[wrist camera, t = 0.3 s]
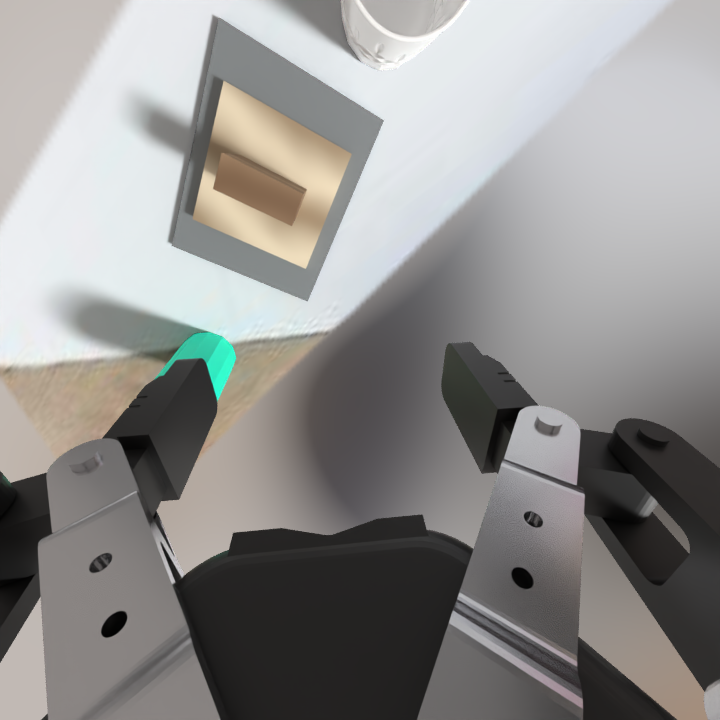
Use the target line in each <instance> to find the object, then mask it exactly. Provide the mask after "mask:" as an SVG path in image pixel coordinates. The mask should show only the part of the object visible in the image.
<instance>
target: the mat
mask: <svg viewBox="0 0 720 720" xmlns="http://www.w3.org/2000/svg"><path fill="white" fill-rule="evenodd" d="M223 81H225V82H227V83H229V84H231V85H232V86H234V87H236V88H238V89H239V90H241V91H243V92H245V93H246V94H248V95H250V96H252V97H253V98H255V99H257V100H259V101H260V102H262V103H264V104H266V105H267V106H269V107H271V108H273V109H274V110H276V111H278V112H280V113H281V114H283V115H285V116H287V117H288V118H290V119H292V120H294V121H295V122H297V123H299V124H301V125H302V126H304V127H306V128H307V129H309V130H311V131H313V132H314V133H316V134H318V135H320V136H321V137H323V138H325V139H327V140H328V141H330V142H332V143H334V144H335V145H337V146H339V147H341V148H342V149H344V150H346V151H348V152H349V153H351V154H352V155H351V157H350V160H349V162H348V165H347V167H346V170H345V172H344V175H343V177H342V180H341V182H340V185H339V187H338V190H337V192H336V195H335V197H334V200H333V202H332V205H331V207H330V210H329V212H328V215H327V217H326V220H325V222H324V225H323V227H322V230H321V232H320V235H319V237H318V240H317V242H316V245H315V247H314V250H313V252H312V255H311V257H310V260H309V262H308V265H307V267H306V269H305V268H303V267H300V266H298V265H296V264H293V263H291V262H289V261H287V260H284V259H282V258H280V257H278V256H275V255H273V254H271V253H268V252H266V251H264V250H262V249H259V248H257V247H255V246H252V245H250V244H248V243H246V242H243V241H241V240H239V239H237V238H234V237H232V236H230V235H227V234H225V233H223V232H221V231H218V230H216V229H214V228H212V227H209V226H207V225H205V224H202V223H200V222H198V221H196V220H193V214H194V210H195V205H196V201H197V197H198V192H199V188H200V183H201V179H202V174H203V170H204V166H205V161H206V157H207V152H208V148H209V143H210V139H211V135H212V130H213V126H214V121H215V117H216V112H217V108H218V104H219V99H220V95H221V90H222V86H223ZM383 121H384V120H382V119H380V118H379V117H377V116H376V115H374V114H372V113H371V112H369V111H368V110H366V109H364V108H363V107H361V106H360V105H358V104H357V103H355V102H353V101H352V100H350V99H349V98H347V97H345V96H344V95H342V94H341V93H339V92H337V91H336V90H334V89H333V88H331V87H329V86H328V85H326V84H325V83H323V82H321V81H320V80H318V79H317V78H315V77H313V76H312V75H310V74H309V73H307V72H305V71H304V70H302V69H301V68H299V67H297V66H296V65H294V64H293V63H291V62H289V61H288V60H286V59H285V58H283V57H281V56H280V55H278V54H277V53H275V52H273V51H272V50H270V49H269V48H267V47H265V46H264V45H262V44H261V43H259V42H257V41H256V40H254V39H253V38H251V37H249V36H248V35H246V34H245V33H243V32H241V31H240V30H238V29H237V28H235V27H233V26H232V25H230V24H229V23H227V22H225V21H224V20H222V19H221V18H219V20H218V25H217V29H216V34H215V39H214V44H213V49H212V54H211V59H210V63H209V68H208V73H207V78H206V83H205V88H204V93H203V97H202V102H201V107H200V112H199V117H198V122H197V127H196V131H195V136H194V141H193V146H192V151H191V156H190V160H189V165H188V170H187V175H186V180H185V185H184V190H183V194H182V199H181V204H180V209H179V214H178V219H177V224H176V228H175V233H174V238H173V243H172V246H174V247H176V248H179V249H181V250H184V251H186V252H188V253H191V254H193V255H196V256H198V257H201V258H203V259H205V260H208V261H210V262H213V263H215V264H218V265H220V266H223V267H225V268H227V269H230V270H232V271H235V272H237V273H240V274H242V275H245V276H247V277H249V278H252V279H254V280H257V281H259V282H262V283H264V284H267V285H269V286H271V287H274V288H276V289H279V290H281V291H284V292H286V293H288V294H291V295H293V296H296V297H298V298H301V299H303V300H306V301H308V299H309V297H310V294H311V292H312V290H313V287H314V285H315V282H316V280H317V278H318V275H319V273H320V271H321V268H322V266H323V263H324V261H325V259H326V256H327V254H328V252H329V249H330V247H331V244H332V242H333V240H334V237H335V235H336V233H337V230H338V228H339V225H340V223H341V221H342V218H343V216H344V214H345V211H346V209H347V207H348V204H349V202H350V199H351V197H352V195H353V192H354V190H355V188H356V185H357V183H358V180H359V178H360V176H361V173H362V171H363V169H364V166H365V164H366V161H367V159H368V157H369V154H370V152H371V150H372V147H373V145H374V142H375V140H376V138H377V135H378V133H379V131H380V128H381V126H382V123H383Z"/></svg>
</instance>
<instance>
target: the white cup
mask: <svg viewBox="0 0 720 720" xmlns="http://www.w3.org/2000/svg"><path fill="white" fill-rule="evenodd" d="M340 1H341V9H342V22H343V26H344V29H345V33H346V37H347V41H348V44H349V46H350V47H351V48H352V50H353V51H354V53H355V54H356V55H357V57H358V58H359V60H360V61H361V62H362V63H364V64H366V65H368V66H370V67H372V68H374V69H376V70H378V71H382V70H392V69H397V68H398V67H400V66H401V65H403V64H404V63H405V62H407V61H408V60H410V59H412V58H414V57H415V56H416V55H417V54H419V53H420V52H421V51H422V50H423V49H425V48H426V47H427V46H428V45H429V44H431V43H432V42H433V41H434V40H435V39H436V38H437V37H438V36H439V35H440V34H441V33H442V32H443V31H444V30H445V29H446V28H448V27H449V26H450V25H451V24H452V23H453V22H454V21H455V20H456V19H457V18H458V16H459V15H460V14H461V13H462V11H463V10H464V9H465V7H466V6H467V4H468V2H469V1H470V0H340Z"/></svg>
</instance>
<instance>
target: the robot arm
mask: <svg viewBox="0 0 720 720" xmlns="http://www.w3.org/2000/svg"><path fill="white" fill-rule="evenodd" d="M441 385H442V386H441V387H442V394H443V398H444V400H445V402H446V404H447V406H448V408H449V410H450V412H451V414H452V416H453V418H454V420H455V422H456V424H457V426H458V428H459V430H460V432H461V434H462V436H463V438H464V440H465V442H466V444H467V446H468V447H469V449H470V451H471V453H472V455H473V457H474V459H475V461H476V463H477V465H478V467H479V469H480V471H481V473H482V474H483V473H494V472H497V474H498V476H497V479H496V482H495V485H494V488H493V491H492V494H491V497H490V501H489V503H488V506H487V509H486V512H485V516H484V519H483V522H482V525H481V528H480V531H479V534H478V537H477V540H476V543H475V546H474V549H473V548H471V547H470V546H468V545H467V544H465V543H463V542H461V541H459V540H458V539H456V538H453V537H451V536H448V535H446V534H443V533H439V532H436V531H432V530H426V526H425V522H424V519H423V515H412V516H402V517H392V518H381V519H376V520H373V521H370V522H367V523H365V524H362V525H359V526H356V527H353V528H351V529H348V530H345V531H342V532H340V533H336V534H333V535H321V534H314V533H308V532H302V531H295V530H288V529H283V528H280V529H269V530H258V531H247V532H237V533H233V536H232V540H231V544H230V548H229V550H227V551H224V552H222V553H220V554H218V555H216V556H213V557H211V558H210V559H208V560H206V561H204V562H203V563H201V564H199V565H198V566H196V567H195V568H194V569H192V570H191V571H190V572H188V573H187V574H186V575H184V573H183V571H182V568H181V566H180V564H179V562H178V559H177V557H176V555H175V552H174V550H173V548H172V545H171V543H170V540H169V538H168V536H167V533H166V531H165V528H164V526H163V524H162V521H161V519H160V517H159V515H158V513H157V511H156V510H157V508H158V506H159V504H160V502H161V501H168V500H179V499H180V496H181V494H182V492H183V489H184V487H185V485H186V483H187V480H188V478H189V475H190V473H191V471H192V469H193V467H194V464H195V462H196V460H197V458H198V455H199V453H200V451H201V448H202V446H203V444H204V442H205V439H206V437H207V435H208V433H209V430H210V428H211V426H212V423H213V421H214V419H215V417H216V413H217V397H216V394H215V391H214V387H213V384H212V381H211V377H210V374H209V371H208V367H207V364H206V362H205V360H204V359H202V358H194V359H178V360H176V361H175V362H174V363H173V364H172V365H171V367H170V368H169V369H168V371H167V372H166V373H165V374H164V376H159V377H158V378H156V379H155V380H153V381H152V382H150V383H149V384H147V385H146V386H145V387H144V388H143V389H142V390H141V392H140V393H139V394H138V395H137V399H134V400H133V401H132V403H131V404H130V405H129V408H127V409H126V410H125V411H124V412H123V414H122V415H121V416H120V417H119V418H118V420H117V421H116V422H115V423H114V425H113V426H112V427H111V428H110V429H109V431H108V432H107V433H106V434H105V436H104V437H103V438H102V439H97V440H92V441H89V442H86V443H83V444H81V445H79V446H76V447H74V448H73V449H71V450H69V451H67V452H66V453H64V454H63V455H62V456H60V457H59V458H58V459H57V460H56V461H55V462H54V463H53V464H52V465H51V466H50V468H49V469H48V472H47V473H44V474H40V475H37V476H34V477H30V478H26V479H23V480H20V481H16V482H13V483H10V482H9V481H8V479H7V478H6V477H5V476H4V475H3V473H2V472H0V662H1V661H2V659H3V657H4V656H5V654H6V652H7V651H8V649H9V647H10V646H11V644H12V642H13V641H14V639H15V638H16V636H17V634H18V633H19V631H20V629H21V628H22V626H23V624H24V622H25V621H26V619H27V618H28V616H29V614H30V613H31V611H32V610H33V608H34V606H35V605H36V603H37V601H38V600H39V598H40V597H41V609H42V624H43V625H42V626H43V641H44V658H45V673H46V691H47V706H48V714H47V715H46V716H45V717H44V718H43V719H42V720H677V719H676V718H675V717H673V716H672V715H671V714H670V713H669V712H667V711H666V710H665V709H664V708H662V707H661V706H660V705H659V704H658V703H656V701H654V700H653V699H652V698H651V697H650V696H648V695H647V694H646V693H645V692H643V691H642V690H641V689H640V688H639V687H638V686H636V685H635V684H634V683H633V682H632V681H631V680H629V679H628V678H627V677H626V676H625V675H623V674H622V673H621V672H620V671H618V669H616V668H615V667H614V666H613V665H612V664H610V663H609V662H608V661H607V660H606V659H605V658H603V657H602V656H601V655H600V654H599V653H597V652H596V651H595V650H594V649H593V648H591V647H590V646H589V645H588V644H587V643H586V642H584V641H583V640H582V639H581V638H580V637H578V630H579V629H578V628H579V608H580V587H581V586H580V585H581V565H582V544H583V524H584V515H585V516H586V517H587V519H588V520H589V522H590V523H591V525H592V526H593V528H594V529H595V531H596V532H597V534H598V535H599V537H600V538H601V540H602V541H603V542H604V544H605V545H606V547H607V548H608V550H609V551H610V553H611V554H612V556H613V557H614V559H615V560H616V562H617V563H618V565H619V566H620V567H621V569H622V571H623V572H624V573H625V575H626V577H627V578H628V579H629V581H630V582H631V584H632V585H633V587H634V588H635V590H636V591H637V593H638V594H639V595H640V597H641V599H642V600H643V602H644V603H645V605H646V606H647V608H648V609H649V610H650V612H651V613H652V615H653V616H654V618H655V619H656V621H657V622H658V624H659V625H660V627H661V628H662V630H663V631H664V632H665V634H666V636H667V637H668V638H669V640H670V641H671V643H672V644H673V646H674V647H675V649H676V650H677V652H678V653H679V655H680V656H681V658H682V659H683V661H684V662H685V663H686V665H687V667H688V668H689V669H690V671H691V672H692V674H693V675H694V677H695V678H696V680H697V681H698V683H699V684H700V686H701V687H702V689H703V690H704V692H705V694H704V706H705V711H706V715H707V718H708V720H720V468H718V467H717V466H716V465H715V464H714V463H712V462H711V461H710V460H709V459H708V458H706V457H705V456H704V455H703V454H701V453H700V452H699V451H698V450H696V449H695V448H694V447H693V446H692V445H690V444H689V443H688V442H686V441H685V440H684V439H683V438H682V437H680V436H679V435H677V434H676V433H675V432H673V431H672V430H670V429H667V428H666V427H664V426H661V425H659V424H656V423H654V422H650V421H647V420H642V419H631V418H630V419H623V420H621V421H619V422H618V423H617V424H616V426H615V429H614V431H613V433H604V432H598V431H591V430H584V429H580V428H579V426H578V425H577V423H576V422H575V421H574V420H573V419H572V418H571V417H569V416H568V415H566V414H564V413H562V412H560V411H558V410H556V409H553V408H549V407H544V406H539V405H538V404H537V403H536V402H535V401H534V400H533V399H532V398H531V397H530V395H529V394H528V393H527V392H526V391H525V390H524V389H523V388H522V386H521V385H520V384H519V383H518V382H516V381H515V379H514V377H513V376H512V375H511V374H509V372H508V371H507V370H506V369H505V367H504V366H503V365H502V364H501V363H500V362H498V361H496V360H495V359H493V358H491V357H489V356H488V355H486V356H485V355H484V356H483V355H482V354H481V353H480V352H479V350H478V349H477V348H476V347H475V346H474V344H473V343H471V342H464V343H449V344H448V345H447V347H446V352H445V359H444V367H443V375H442V384H441ZM658 503H659V504H660V505H661V506H662V508H663V509H664V510H665V511H666V512H667V513H668V514H669V515H670V516H671V517H672V518H673V520H674V521H675V522H676V523H677V524H678V525H679V526H680V527H681V528H682V530H683V531H684V532H685V534H686V536H687V538H688V540H689V544H690V553H688V552H687V551H686V550H685V549H684V548H683V546H682V545H681V544H680V543H679V542H678V541H677V540H676V538H675V537H674V536H673V535H672V534H671V533H670V532H669V530H668V529H667V528H666V527H665V526H664V525H663V524H662V522H661V521H660V520H659V519H658V518H657V517H656V516H655V514H653V512H652V511H653V510H654V508H655V507H656V505H657V504H658Z"/></svg>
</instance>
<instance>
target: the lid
mask: <svg viewBox="0 0 720 720" xmlns="http://www.w3.org/2000/svg"><path fill="white" fill-rule="evenodd" d="M351 155H352V154H351V153H349V152H348V151H346V150H344V149H342V148H341V147H339V146H337V145H335V144H334V143H332V142H330V141H328V140H327V139H325V138H323V137H321V136H320V135H318V134H316V133H314V132H313V131H311V130H309V129H307V128H306V127H304V126H302V125H301V124H299V123H297V122H295V121H294V120H292V119H290V118H288V117H287V116H285V115H283V114H281V113H280V112H278V111H276V110H274V109H273V108H271V107H269V106H267V105H266V104H264V103H262V102H260V101H259V100H257V99H255V98H253V97H252V96H250V95H248V94H246V93H245V92H243V91H241V90H239V89H238V88H236V87H234V86H232V85H231V84H229V83H227V82H225V81H223V86H222V90H221V95H220V99H219V104H218V108H217V112H216V117H215V121H214V126H213V130H212V135H211V139H210V143H209V148H208V152H207V157H206V161H205V166H204V170H203V174H202V179H201V183H200V188H199V192H198V197H197V201H196V205H195V210H194V214H193V220H196V221H198V222H200V223H202V224H205V225H207V226H209V227H212V228H214V229H216V230H218V231H221V232H223V233H225V234H227V235H230V236H232V237H234V238H237V239H239V240H241V241H243V242H246V243H248V244H250V245H252V246H255V247H257V248H259V249H262V250H264V251H266V252H268V253H271V254H273V255H275V256H278V257H280V258H282V259H284V260H287V261H289V262H291V263H293V264H296V265H298V266H300V267H303V268H305V269H306V267H307V265H308V262H309V260H310V257H311V255H312V252H313V250H314V247H315V245H316V242H317V240H318V237H319V235H320V232H321V230H322V227H323V225H324V222H325V220H326V217H327V215H328V212H329V210H330V207H331V205H332V202H333V200H334V197H335V195H336V192H337V190H338V187H339V185H340V182H341V180H342V177H343V175H344V172H345V170H346V167H347V165H348V162H349V160H350V157H351Z"/></svg>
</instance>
